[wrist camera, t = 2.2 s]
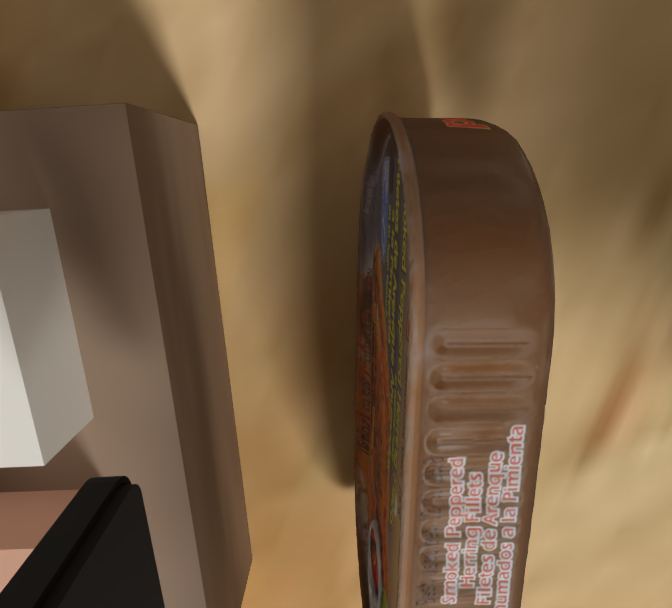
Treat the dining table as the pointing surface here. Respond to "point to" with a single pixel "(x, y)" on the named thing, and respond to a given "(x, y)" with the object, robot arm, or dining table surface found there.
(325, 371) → the dining table surface
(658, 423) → the dining table surface
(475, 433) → the tin
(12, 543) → the terracotta tile
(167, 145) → the brown flat block
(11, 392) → the cream tile
